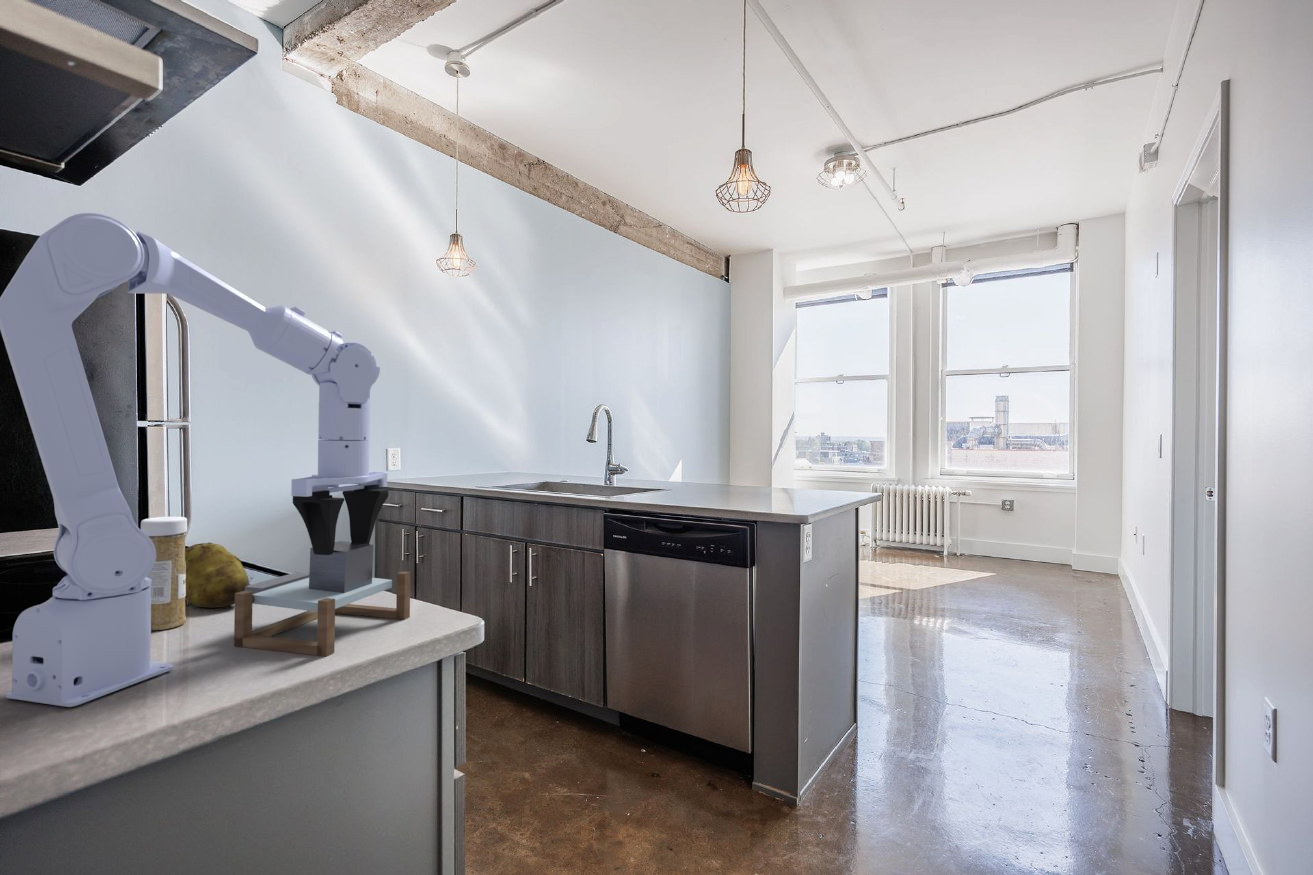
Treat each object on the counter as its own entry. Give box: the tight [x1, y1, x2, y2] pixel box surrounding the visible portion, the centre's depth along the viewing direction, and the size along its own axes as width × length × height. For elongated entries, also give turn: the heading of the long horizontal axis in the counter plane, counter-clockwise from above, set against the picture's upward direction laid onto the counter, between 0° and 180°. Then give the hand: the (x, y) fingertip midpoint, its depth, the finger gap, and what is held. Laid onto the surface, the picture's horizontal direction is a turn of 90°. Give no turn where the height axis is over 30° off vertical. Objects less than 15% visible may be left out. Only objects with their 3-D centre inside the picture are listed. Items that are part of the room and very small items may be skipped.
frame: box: [233, 571, 411, 657], centre depth 78 cm, size 15×12×6 cm
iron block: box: [308, 540, 374, 593], centre depth 78 cm, size 5×5×5 cm
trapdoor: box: [245, 571, 393, 612], centre depth 78 cm, size 12×13×1 cm
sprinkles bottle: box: [140, 515, 188, 631], centre depth 78 cm, size 5×5×14 cm
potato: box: [185, 542, 251, 609], centre depth 89 cm, size 8×13×8 cm, turn 40°
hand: (342, 549), depth 78 cm, fingers open, 6 cm apart
